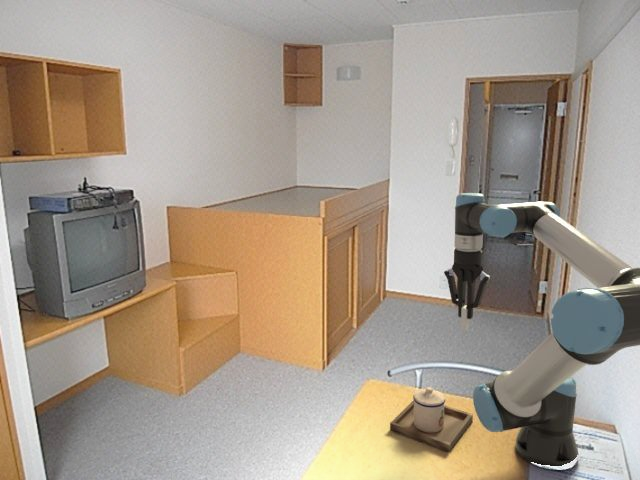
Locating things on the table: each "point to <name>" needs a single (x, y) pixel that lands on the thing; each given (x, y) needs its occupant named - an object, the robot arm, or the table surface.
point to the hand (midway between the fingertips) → (465, 328)
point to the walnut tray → (443, 439)
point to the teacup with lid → (429, 410)
